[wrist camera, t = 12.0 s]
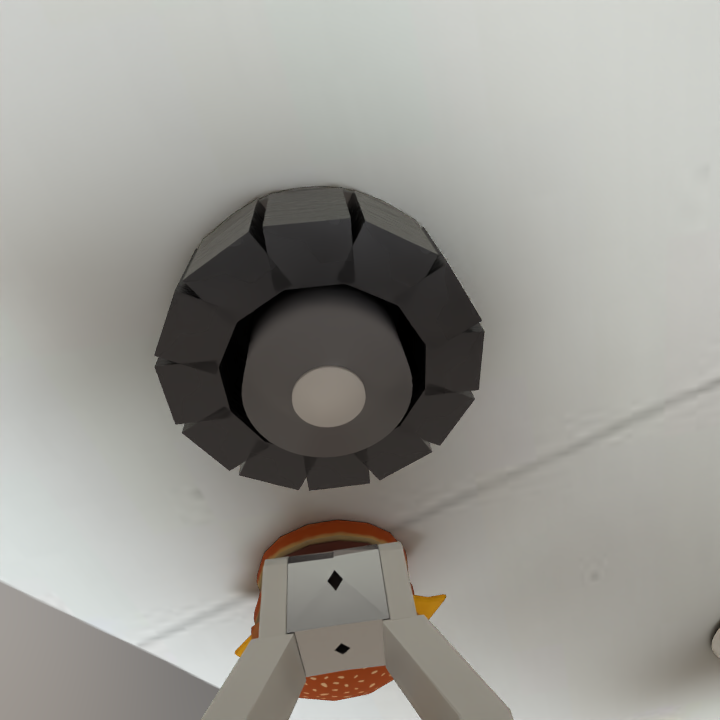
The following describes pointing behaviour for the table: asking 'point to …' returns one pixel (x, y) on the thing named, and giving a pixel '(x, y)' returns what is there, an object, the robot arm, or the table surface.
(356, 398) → the cap
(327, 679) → the hamburger
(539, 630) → the table surface
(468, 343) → the segmented grey ring
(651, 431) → the table surface
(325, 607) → the robot arm
